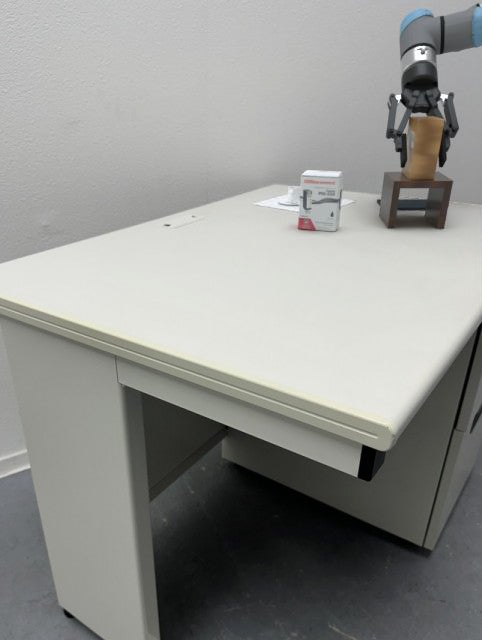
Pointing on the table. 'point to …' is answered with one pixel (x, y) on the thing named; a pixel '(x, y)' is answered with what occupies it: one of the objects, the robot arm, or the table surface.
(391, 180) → the shelf
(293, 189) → the teacup and saucer
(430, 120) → the tape carton
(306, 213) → the ink box
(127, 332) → the table surface
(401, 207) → the mat
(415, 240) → the table surface
